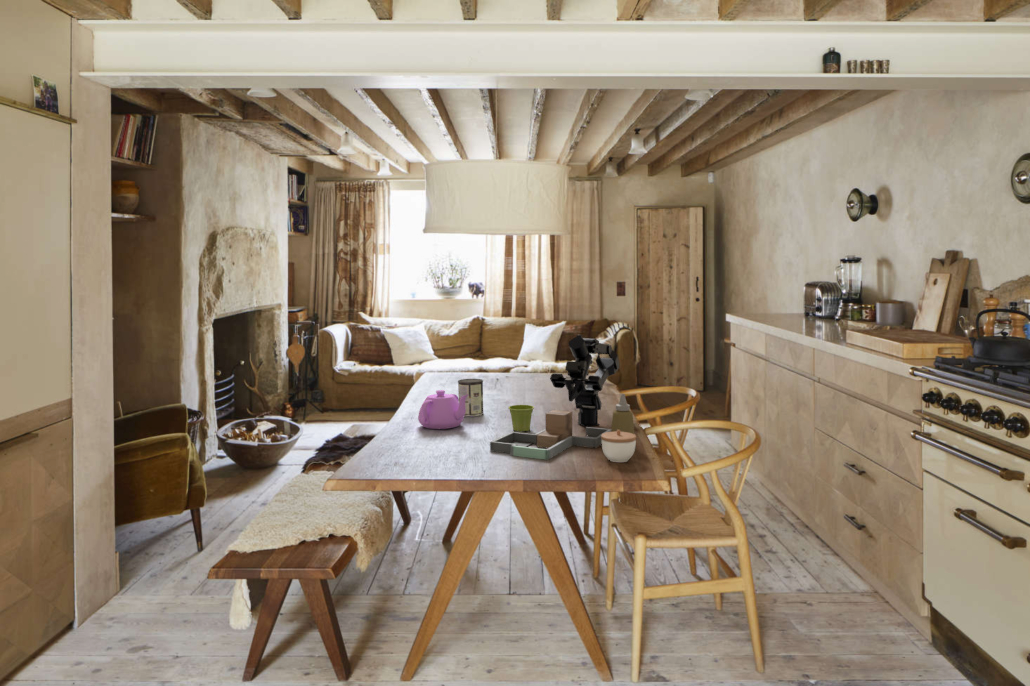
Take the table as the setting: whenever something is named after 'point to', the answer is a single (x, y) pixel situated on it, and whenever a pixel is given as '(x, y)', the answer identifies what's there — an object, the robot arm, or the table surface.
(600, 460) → the table surface
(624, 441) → the lidded jar
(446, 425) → the teapot
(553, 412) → the walnut block
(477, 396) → the coffee can
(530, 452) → the bent walled tray
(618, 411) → the squeeze bottle
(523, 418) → the plant pot
